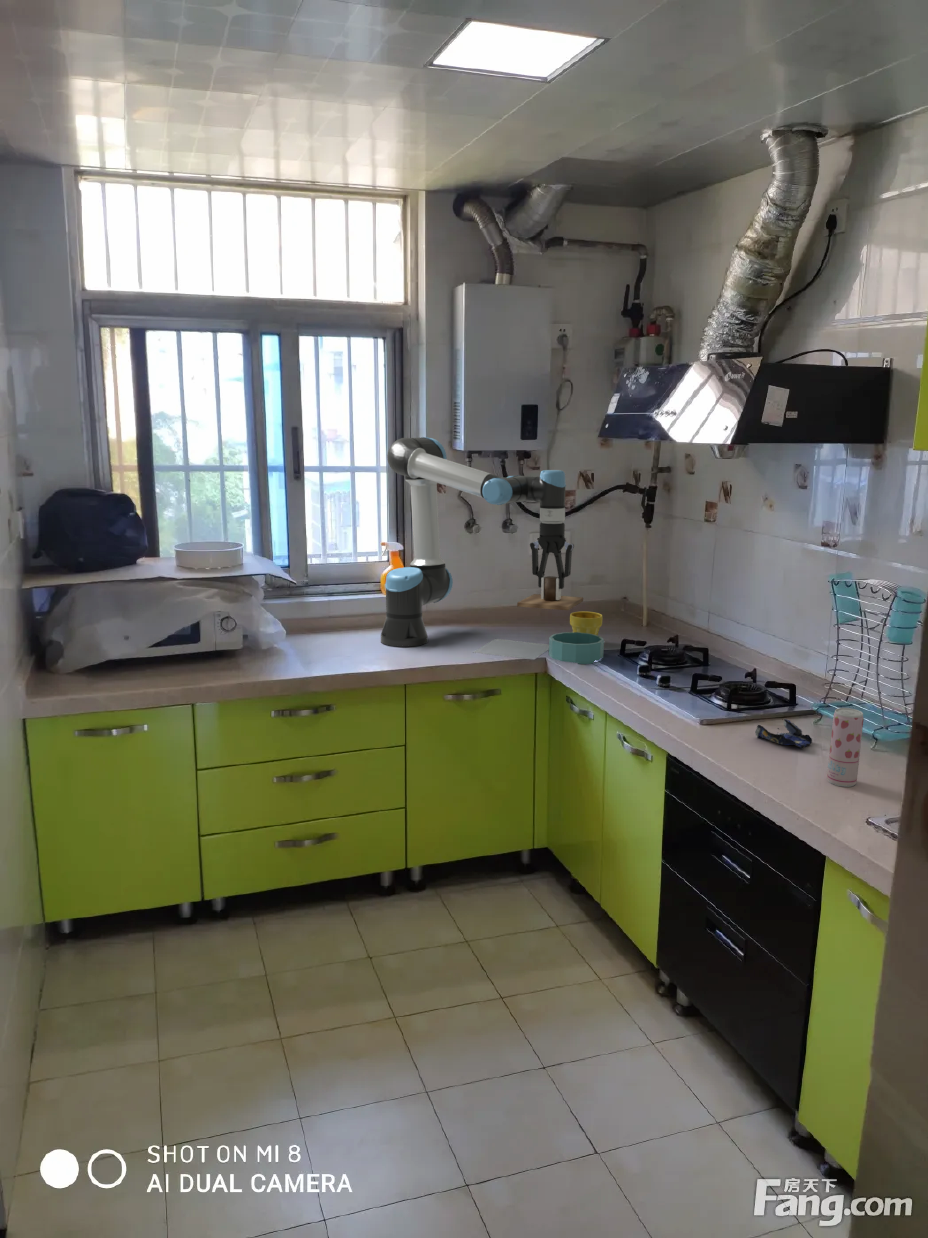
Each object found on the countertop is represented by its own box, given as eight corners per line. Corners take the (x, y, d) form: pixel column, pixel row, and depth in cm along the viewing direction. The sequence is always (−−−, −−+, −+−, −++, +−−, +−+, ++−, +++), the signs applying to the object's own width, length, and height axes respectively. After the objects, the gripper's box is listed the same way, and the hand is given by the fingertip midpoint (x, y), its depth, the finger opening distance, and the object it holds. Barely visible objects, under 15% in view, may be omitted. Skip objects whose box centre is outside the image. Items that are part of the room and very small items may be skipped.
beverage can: (820, 780, 191) (827, 710, 188) (837, 774, 195) (844, 705, 191) (845, 789, 187) (853, 718, 184) (862, 783, 190) (870, 713, 187)
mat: (472, 653, 288) (472, 652, 288) (495, 640, 306) (495, 638, 306) (534, 661, 281) (534, 659, 281) (554, 646, 299) (554, 645, 299)
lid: (517, 606, 282) (517, 579, 280) (534, 597, 296) (534, 572, 294) (568, 610, 275) (568, 582, 274) (583, 601, 290) (583, 575, 288)
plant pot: (591, 649, 296) (592, 619, 294) (563, 644, 302) (564, 614, 300) (606, 643, 304) (608, 614, 302) (579, 638, 310) (580, 609, 308)
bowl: (542, 660, 282) (543, 641, 281) (558, 648, 296) (559, 630, 295) (594, 666, 276) (595, 646, 275) (607, 654, 290) (608, 635, 289)
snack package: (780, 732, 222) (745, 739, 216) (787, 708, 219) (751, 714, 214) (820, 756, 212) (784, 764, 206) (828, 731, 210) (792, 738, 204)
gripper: (521, 522, 280) (520, 598, 285) (576, 524, 274) (574, 602, 279) (529, 519, 287) (528, 594, 292) (583, 521, 281) (581, 598, 286)
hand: (550, 598), depth 285 cm, fingers closed on lid, 4 cm apart
